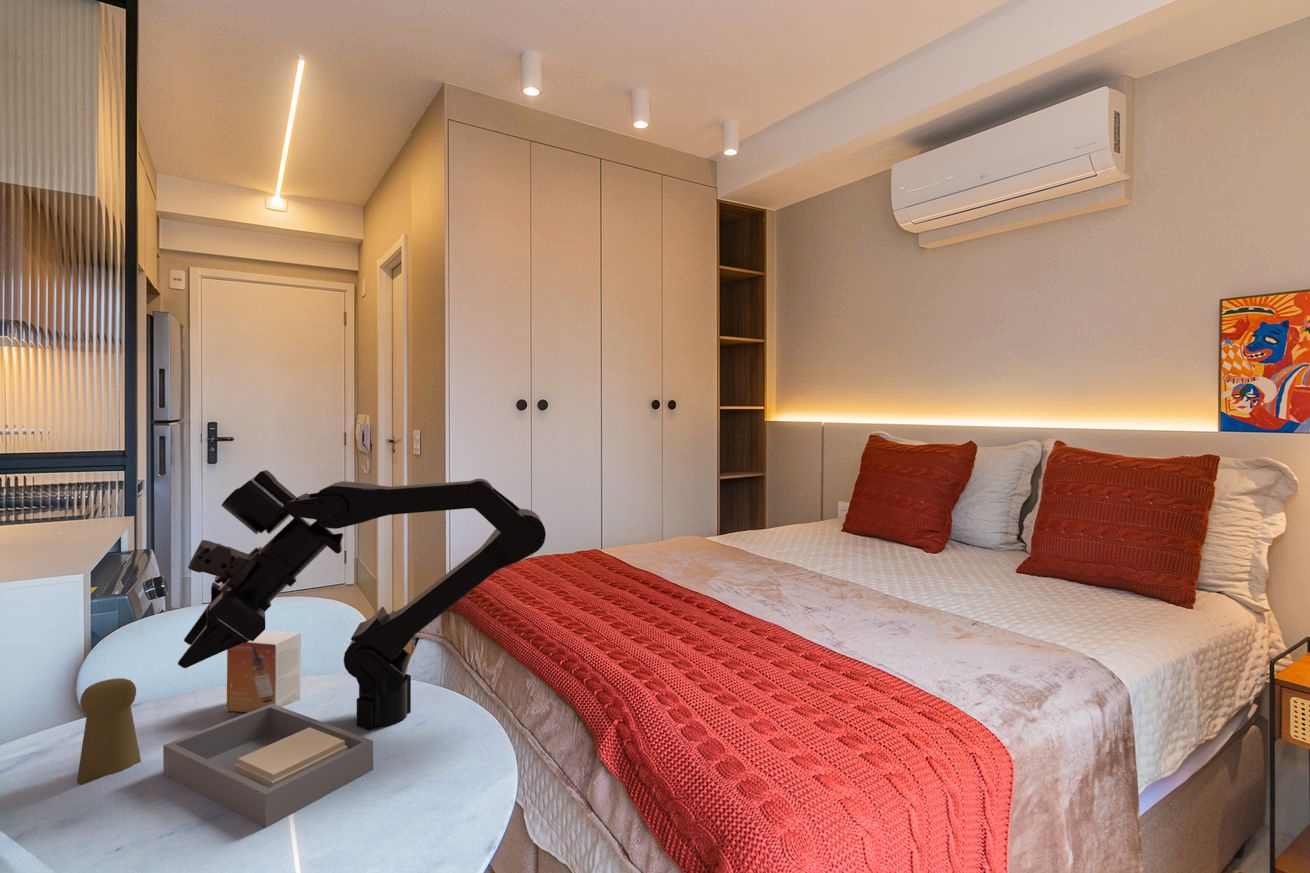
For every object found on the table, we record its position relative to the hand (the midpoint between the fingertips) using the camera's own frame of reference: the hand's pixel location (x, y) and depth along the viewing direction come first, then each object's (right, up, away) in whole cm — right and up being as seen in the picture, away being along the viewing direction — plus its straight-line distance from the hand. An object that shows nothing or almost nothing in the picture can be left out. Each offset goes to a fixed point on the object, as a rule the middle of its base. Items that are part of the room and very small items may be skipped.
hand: (184, 653), depth 84 cm
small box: (+1, -13, +15) cm, 20 cm away
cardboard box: (+17, -13, -7) cm, 23 cm away
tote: (+13, -13, -5) cm, 20 cm away
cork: (-6, -13, -3) cm, 15 cm away
